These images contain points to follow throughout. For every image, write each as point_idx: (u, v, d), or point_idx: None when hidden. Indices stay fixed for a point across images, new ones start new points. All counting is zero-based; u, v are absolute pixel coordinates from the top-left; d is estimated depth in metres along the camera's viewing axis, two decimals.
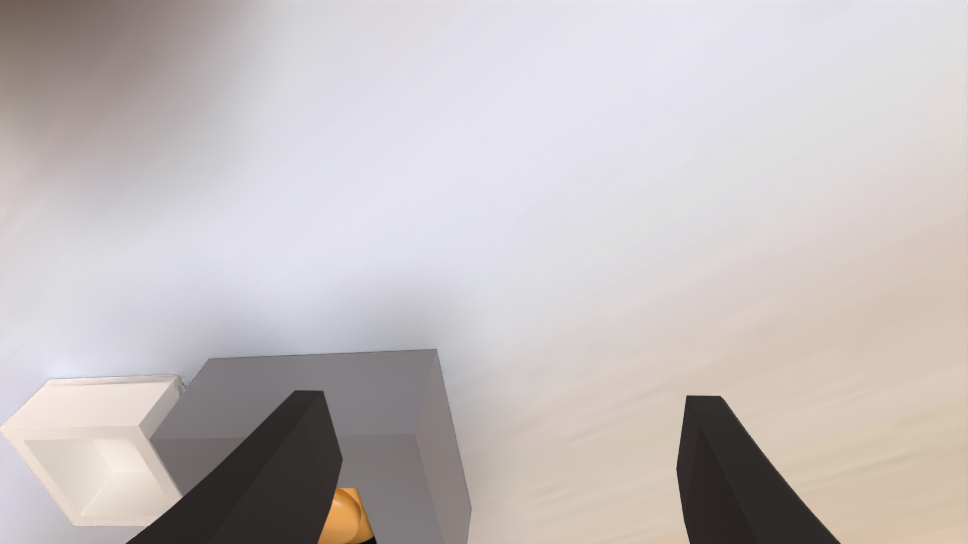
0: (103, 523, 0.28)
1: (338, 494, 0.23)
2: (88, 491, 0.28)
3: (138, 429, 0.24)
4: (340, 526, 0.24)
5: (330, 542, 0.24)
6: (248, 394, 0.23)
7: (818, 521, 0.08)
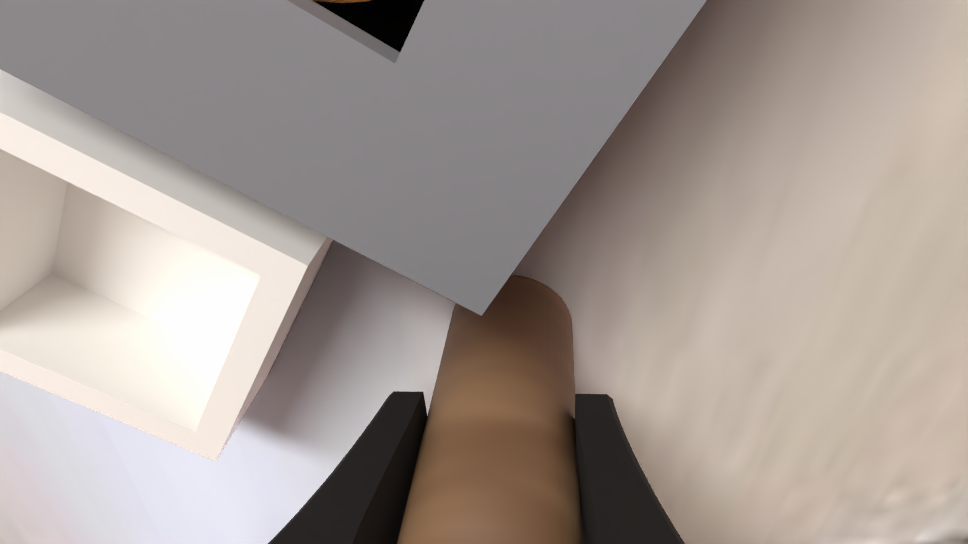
0: (227, 416, 0.13)
1: None
2: (194, 393, 0.14)
3: None
4: None
5: None
6: None
7: (663, 515, 0.08)
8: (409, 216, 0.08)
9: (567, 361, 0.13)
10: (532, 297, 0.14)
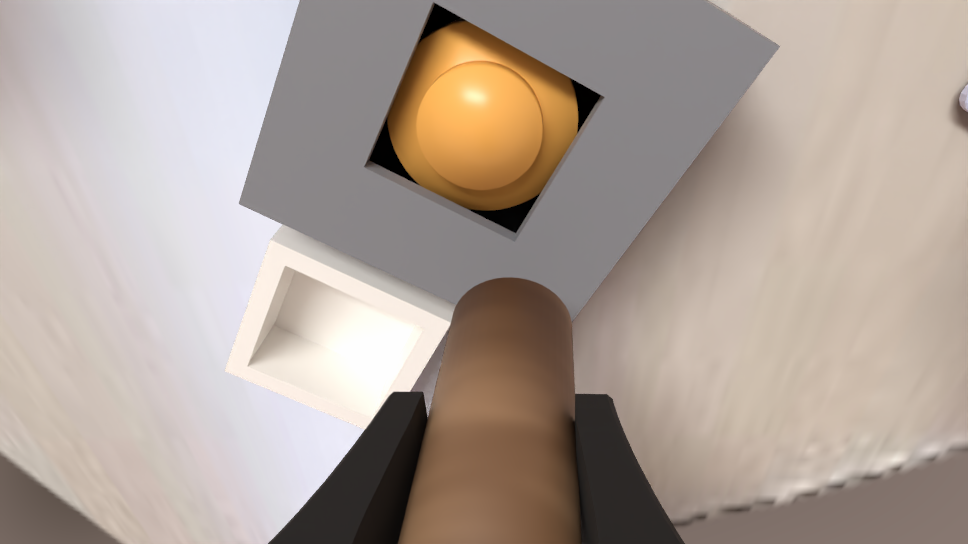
0: None
1: (457, 66, 0.15)
2: (366, 395, 0.24)
3: (276, 245, 0.19)
4: (506, 107, 0.15)
5: (529, 151, 0.15)
6: None
7: (663, 515, 0.08)
8: None
9: (567, 362, 0.13)
10: (532, 298, 0.14)
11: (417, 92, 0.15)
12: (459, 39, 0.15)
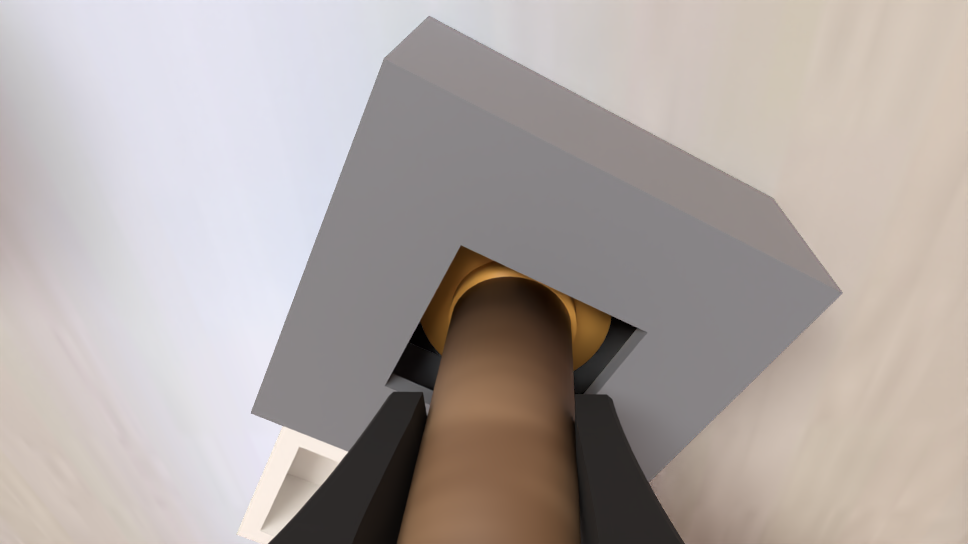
0: None
1: (490, 267, 0.14)
2: None
3: (289, 429, 0.18)
4: None
5: None
6: None
7: (663, 515, 0.08)
8: None
9: (566, 361, 0.13)
10: (531, 297, 0.14)
11: (448, 285, 0.15)
12: None
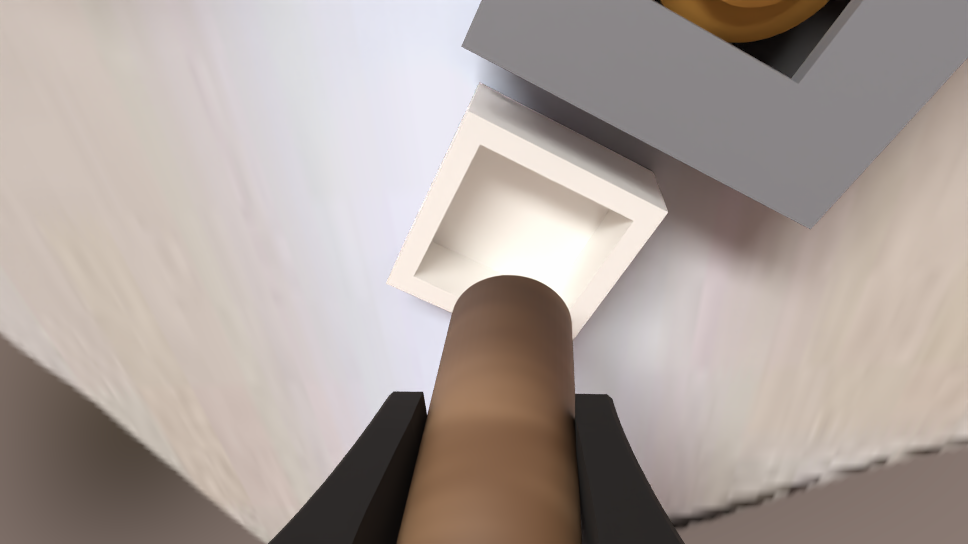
0: (578, 324, 0.20)
1: None
2: None
3: (474, 118, 0.16)
4: None
5: None
6: None
7: (663, 515, 0.08)
8: (781, 170, 0.15)
9: (567, 360, 0.13)
10: (532, 295, 0.14)
11: None
12: None
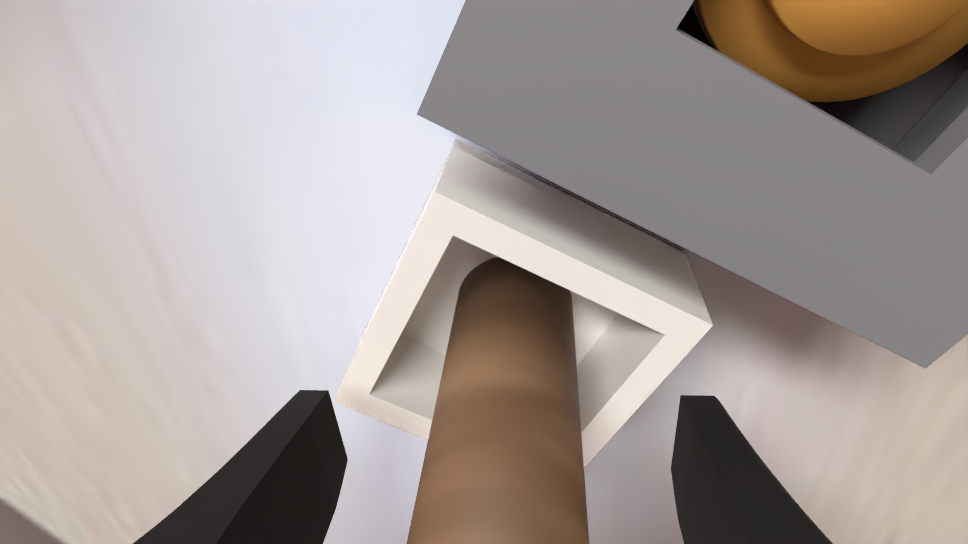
0: (587, 455, 0.15)
1: None
2: None
3: (443, 201, 0.12)
4: None
5: None
6: None
7: (810, 521, 0.08)
8: (892, 291, 0.10)
9: (569, 334, 0.13)
10: (535, 274, 0.14)
11: None
12: None
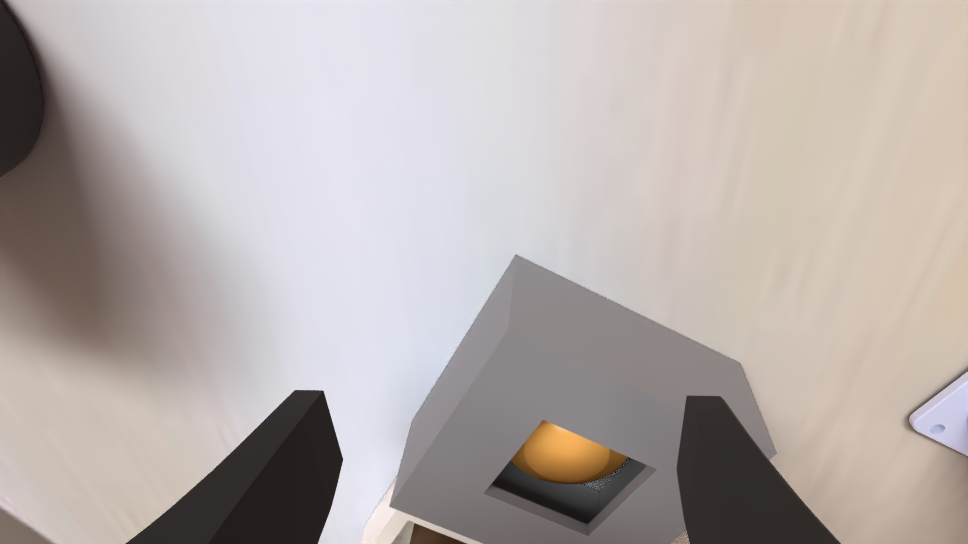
0: None
1: None
2: None
3: None
4: (586, 443, 0.22)
5: (599, 464, 0.23)
6: (428, 419, 0.24)
7: (818, 521, 0.08)
8: None
9: None
10: None
11: None
12: None
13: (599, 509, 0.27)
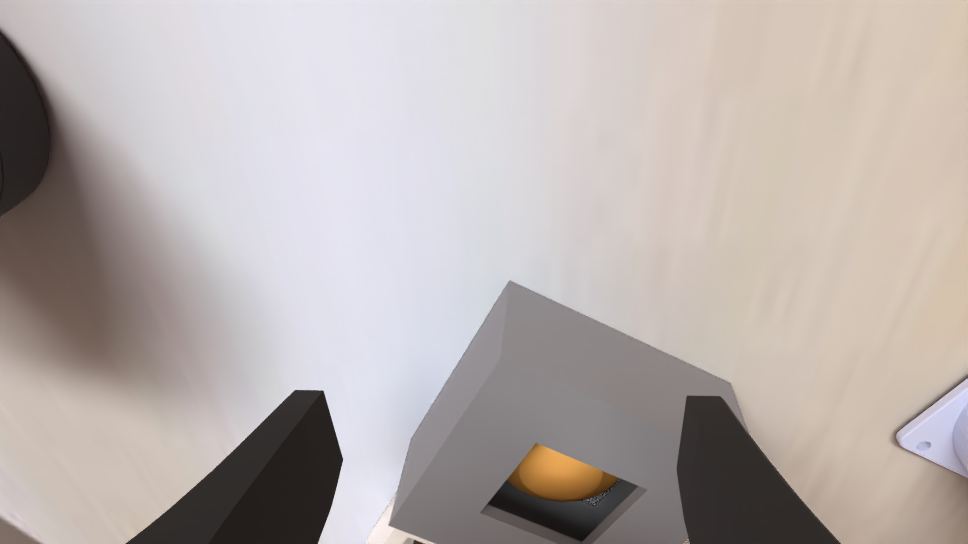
0: None
1: None
2: None
3: None
4: (579, 463, 0.23)
5: (593, 483, 0.23)
6: (425, 440, 0.24)
7: (818, 521, 0.08)
8: None
9: None
10: None
11: None
12: None
13: (595, 524, 0.28)
